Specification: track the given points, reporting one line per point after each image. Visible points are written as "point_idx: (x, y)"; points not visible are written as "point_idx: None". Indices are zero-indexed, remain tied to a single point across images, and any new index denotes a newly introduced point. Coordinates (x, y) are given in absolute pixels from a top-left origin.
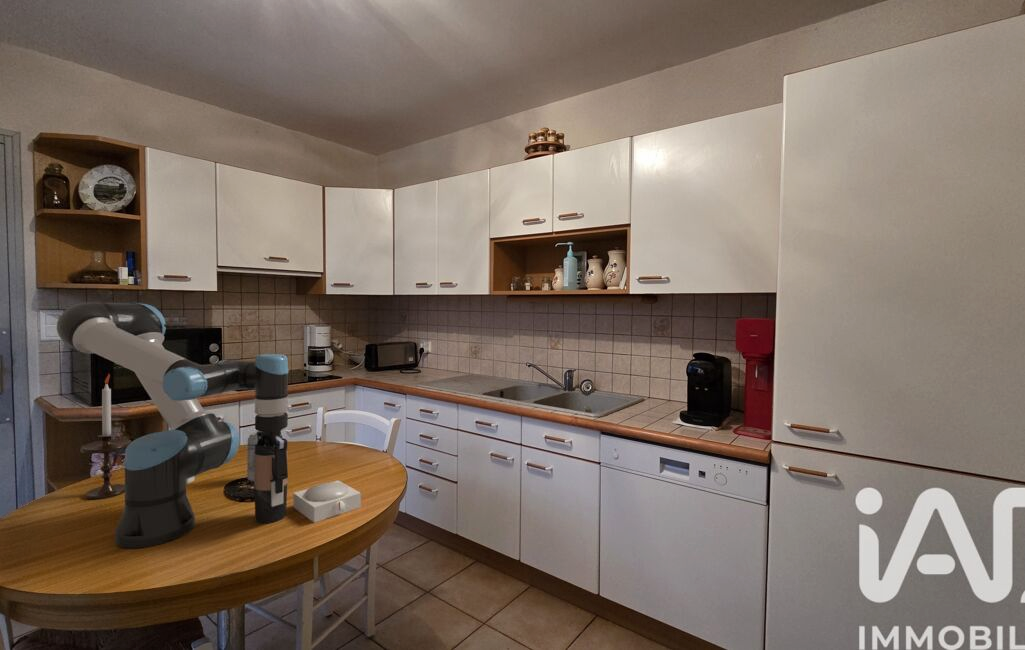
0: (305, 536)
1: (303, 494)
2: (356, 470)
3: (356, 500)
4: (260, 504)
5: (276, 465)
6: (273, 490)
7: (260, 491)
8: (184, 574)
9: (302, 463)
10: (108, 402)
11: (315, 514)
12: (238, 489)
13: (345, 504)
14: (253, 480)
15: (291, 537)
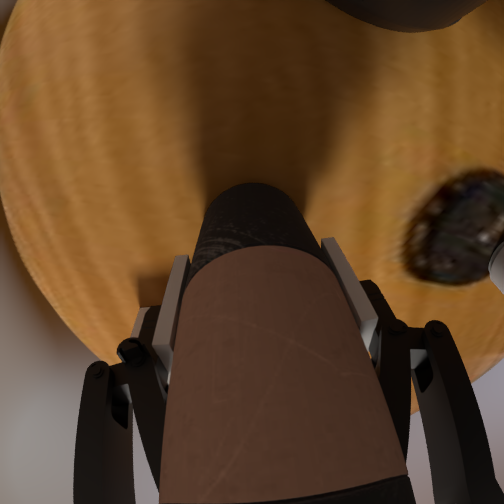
0: (75, 272)
1: None
2: None
3: None
4: (216, 223)
5: (84, 441)
6: (162, 308)
7: (207, 259)
8: (34, 9)
9: (481, 334)
10: None
11: (135, 326)
12: (497, 207)
13: None
14: (501, 248)
15: (80, 246)
